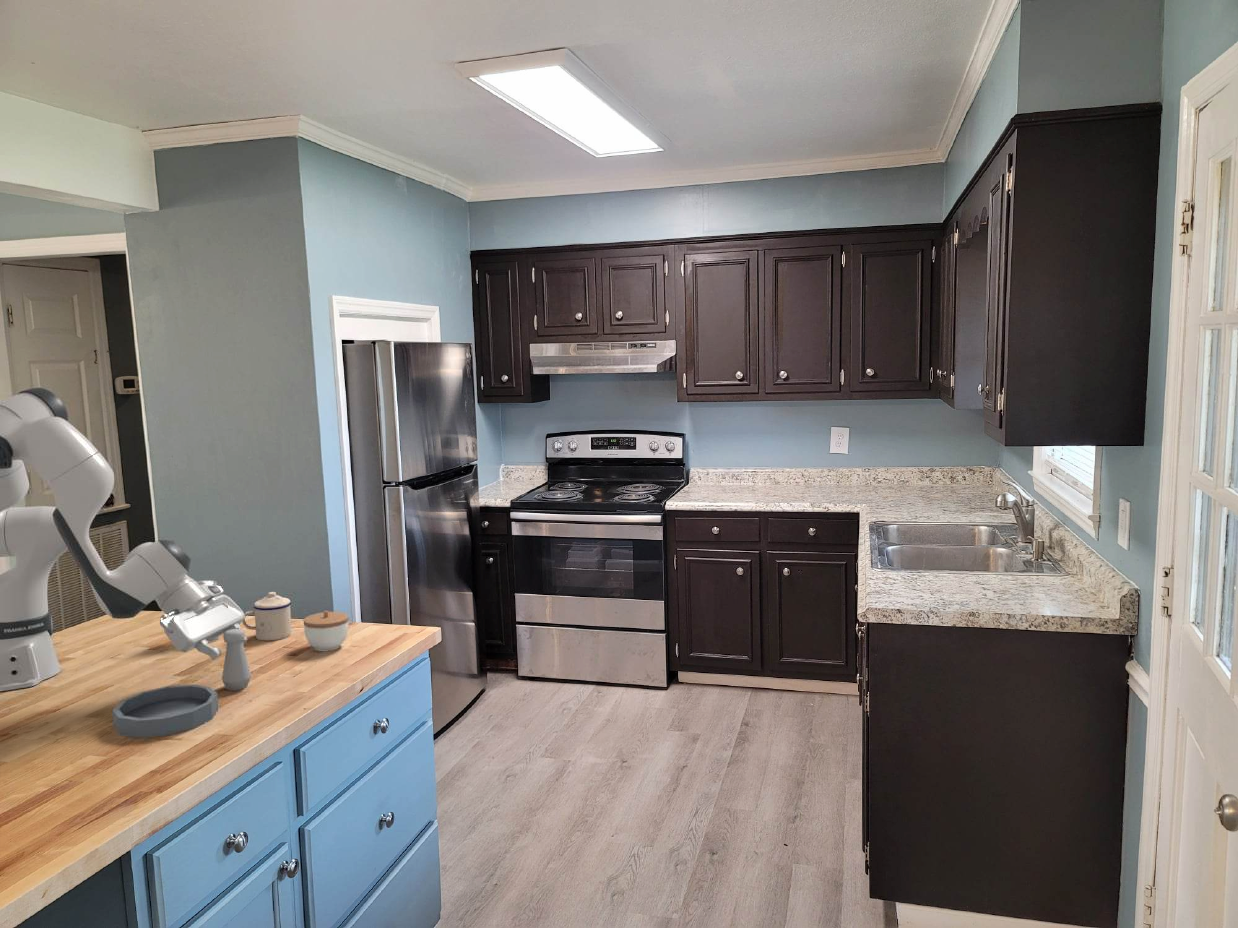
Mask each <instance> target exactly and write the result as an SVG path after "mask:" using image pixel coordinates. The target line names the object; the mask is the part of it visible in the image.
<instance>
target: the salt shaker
mask: <svg viewBox="0 0 1238 928" xmlns="http://www.w3.org/2000/svg"><path fill="white" fill-rule="evenodd" d="M222 635H223V636H222V637H223V642H224V643H226V649H225V656H224V661H223V670H222V676H221V679H222V683H223V685H224V686H225V689H226V691H231V692H236V691H242V690H244V689H245V688H248V685H249V683H250V680H251V677H252V676H251V669H250V666H249V662H248V659H247V654H246V650H245V646H244V644H243V642H242V641H243V640H244V639H245V637H246V634H245V630H243V629H242V628H241V629H231V630H228V631H226V632H225V633H223V634H222Z"/></svg>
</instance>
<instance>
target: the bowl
mask: <svg viewBox="0 0 1238 928" xmlns="http://www.w3.org/2000/svg"><path fill="white" fill-rule="evenodd" d="M218 711H219V697H218V692H216V691H215V690H214V689H213V688H212V687H211V686H205V685H199V684H180V685H179V684H177V685H167V686H161V687H158V688H154V689H149V690H145V691H141V692H139V693H136V694H132V696H129V697H127V698H125V699H123V700H121V701H120V702H118V704H117V705H116V706H115V707H114V708H113V709H112V718H113V728H114V730H115V731H116V732H117V734H118V735H119V736H122V737H123V736H124V737H128V738H136V739H146V738H147V739H149V738H160V737H167V736H172V735H175V734H179V733H183V732H186V731H190V730H194V729H196V728H198V727H200V726H202V725H204V724H206V723H208V722H210V721H212V720H213V719H214V717H215V716H216V714H217V713H216V712H218ZM214 715H215V716H214ZM211 719H212V720H211ZM209 720H210V721H209ZM205 722H206V723H205Z"/></svg>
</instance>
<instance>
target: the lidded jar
mask: <svg viewBox="0 0 1238 928" xmlns="http://www.w3.org/2000/svg"><path fill="white" fill-rule="evenodd" d="M349 619H350V618H349V614H347V613H345V612H341V611H328V610H324V611H322V612H319V613H318V612H317V613H313V614H309V615H308V616H306V617H305V618H303V627H304V628H303V629H304V635H305V639H306V641H307V643H308V644H309V645H310V646H311V647H312V648H313V649H314V651H316V650H319V651H318V652H329V651H328V650H332V651H335V650H338V649H339V648H340V647H341V646H342V644H343V643H344V642H345V641H346V638H347V636H348V632H349ZM334 649H335V650H334Z"/></svg>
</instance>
